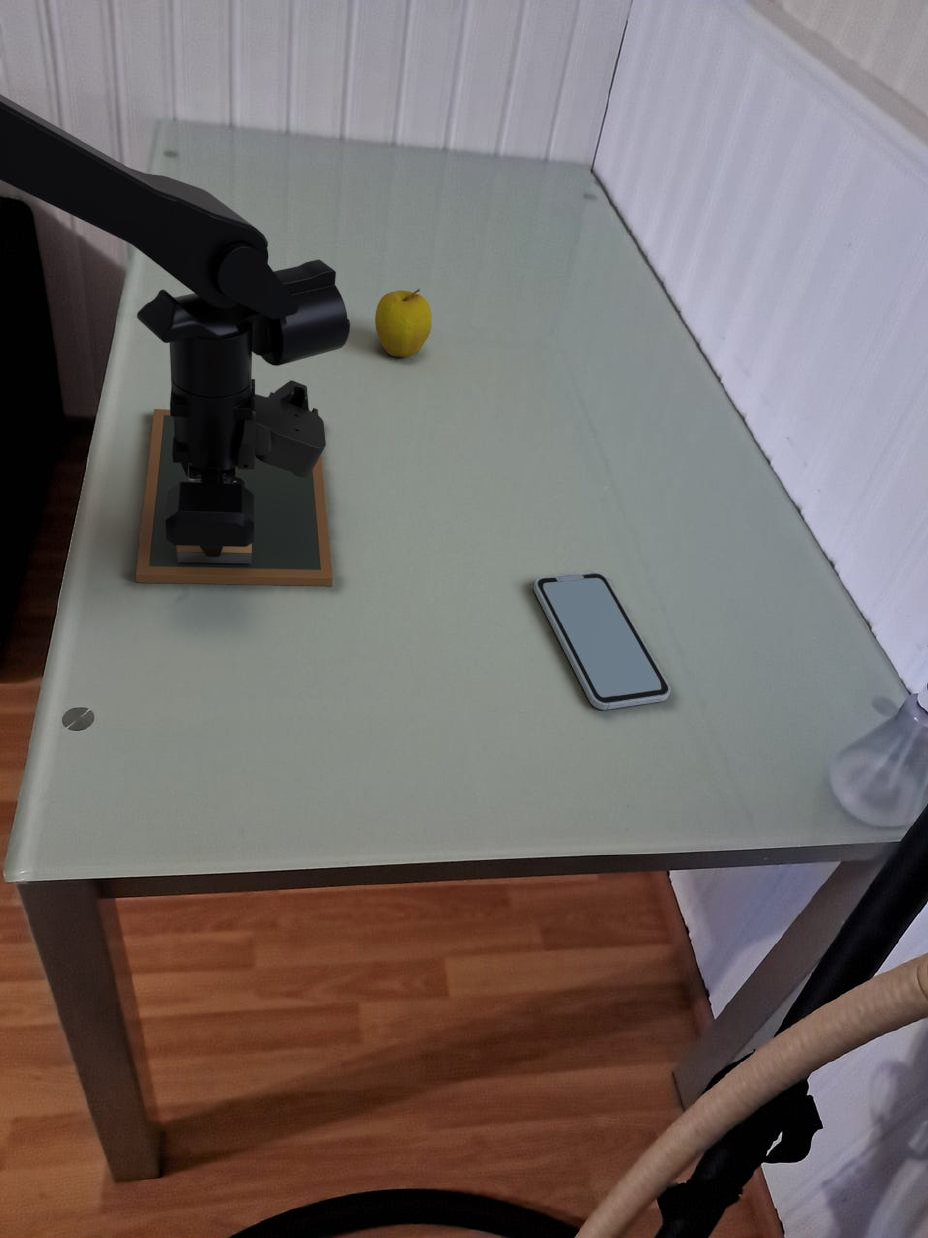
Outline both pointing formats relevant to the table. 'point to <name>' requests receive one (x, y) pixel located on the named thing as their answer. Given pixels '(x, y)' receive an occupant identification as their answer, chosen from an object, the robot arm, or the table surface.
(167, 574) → the chalkboard
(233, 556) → the eraser
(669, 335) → the table surface
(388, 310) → the apple
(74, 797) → the table surface
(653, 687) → the smartphone
